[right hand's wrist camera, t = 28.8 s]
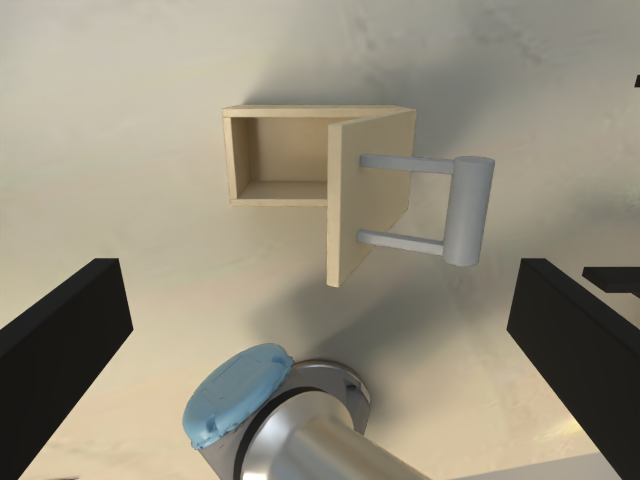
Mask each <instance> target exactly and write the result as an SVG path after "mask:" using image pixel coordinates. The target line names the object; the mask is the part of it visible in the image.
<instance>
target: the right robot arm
mask: <svg viewBox="0 0 640 480" xmlns="http://www.w3.org/2000/svg"><path fill="white" fill-rule="evenodd" d="M132 331H133V325H132V320H131V315H130V311H129V306H128V301H127V296H126V292H125V287H124V282H123V277H122V273H121V268H120V263H119V258H95V259H93V260H92V261H91V262H89V263H88V264H87V265H86V266H84V267H83V268H82V269H80V270H79V271H78V272H76V273H75V274H74V275H72V276H71V277H70V278H68V279H67V280H66V281H64V282H63V283H62V284H60V285H59V286H58V287H56V288H55V289H54V290H52V291H51V292H50V293H48V294H47V295H46V296H44V297H43V298H42V299H40V300H39V301H38V302H36V303H35V304H34V305H33V306H31V307H30V308H29V309H27V310H26V311H25V312H23V313H22V314H21V315H19V316H18V317H17V318H15V319H14V320H13V321H11V322H10V323H9V324H7V325H6V326H5V327H3V328H2V329H1V330H0V480H18V479H19V477H20V476H21V475H22V474H23V472H24V471H25V470H26V468H27V467H28V466H29V465H30V463H31V462H32V461H33V459H34V458H35V457H36V455H37V454H38V453H39V452H40V450H41V449H42V448H43V446H44V445H45V444H46V443H47V441H48V440H49V439H50V437H51V436H52V435H53V433H54V432H55V431H56V430H57V428H58V427H59V426H60V424H61V423H62V422H63V421H64V419H65V418H66V417H67V415H68V414H69V413H70V411H71V410H72V409H73V408H74V406H75V405H76V404H77V402H78V401H79V400H80V399H81V397H82V396H83V395H84V393H85V392H86V391H87V389H88V388H89V387H90V386H91V384H92V383H93V382H94V380H95V379H96V378H97V377H98V375H99V374H100V373H101V371H102V370H103V369H104V367H105V366H106V365H107V364H108V362H109V361H110V360H111V358H112V357H113V356H114V355H115V353H116V352H117V351H118V349H119V348H120V347H121V345H122V344H123V343H124V342H125V340H126V339H127V338H128V336H129V335H130V334H131V333H132ZM507 331H508V333H509V334H510V335H511V336H512V338H513V339H514V340H515V342H516V343H517V344H518V345H519V347H520V348H521V349H522V351H523V352H524V353H525V355H526V356H527V357H528V358H529V360H530V361H531V362H532V364H533V365H534V366H535V367H536V369H537V370H538V371H539V373H540V374H541V375H542V377H543V378H544V379H545V380H546V382H547V383H548V384H549V386H550V387H551V388H552V389H553V391H554V392H555V393H556V395H557V396H558V397H559V399H560V400H561V401H562V402H563V404H564V405H565V406H566V408H567V409H568V410H569V411H570V413H571V414H572V415H573V417H574V418H575V419H576V421H577V422H578V423H579V424H580V426H581V427H582V428H583V430H584V431H585V432H586V433H587V435H588V436H589V437H590V439H591V440H592V441H593V443H594V444H595V445H596V446H597V448H598V449H599V450H600V452H601V453H602V454H603V455H604V457H605V458H606V459H607V461H608V462H609V463H610V464H611V466H612V467H613V468H614V470H615V471H616V472H617V474H618V475H619V476H620V477H621V479H622V480H640V330H639V329H638V328H637V327H635V326H634V325H633V324H631V323H630V322H629V321H627V320H626V319H625V318H623V317H622V316H621V315H619V314H618V313H617V312H615V311H614V310H613V309H611V308H610V307H609V306H607V305H606V304H605V303H604V302H602V301H601V300H600V299H598V298H597V297H596V296H594V295H593V294H592V293H590V292H589V291H588V290H586V289H585V288H584V287H582V286H581V285H580V284H578V283H577V282H576V281H574V280H573V279H572V278H570V277H569V276H568V275H566V274H565V273H564V272H562V271H561V270H560V269H558V268H557V267H556V266H554V265H553V264H552V263H551V262H549V261H548V260H547V259H545V258H521V263H520V268H519V273H518V277H517V282H516V287H515V292H514V296H513V301H512V306H511V311H510V315H509V320H508V325H507Z"/></svg>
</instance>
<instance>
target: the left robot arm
mask: <svg viewBox="0 0 640 480" xmlns="http://www.w3.org/2000/svg"><path fill="white" fill-rule="evenodd" d="M634 87H640V75H637V79H636V83H635V86H634ZM582 276H583V277H584V278H586V279H587V280H589V281H590V282H591V283H593V284H594V285H596V286H597V287H598V288H600V289H601V290H603V291H604V292H605V293H632V294H634V295H635V296H637V297H638V298H640V267H584V270H583V273H582ZM369 408H370V395H369V394H368V391H367V388H366V385H365V383H364V381H363V380H362V379H361V377H360V376H359V375H358V374H357V373H356V372H354V371H353V370H352V369H350V368H349V367H347V366H345V365H343V364H340V363H337V362H334V361H329V360H308V361H303V362H300V363H297V364H295V365H294V360H293V358H292V357H291V356H289V355H288V354H287V352H286V351H285V349H284V348H282V347H281V346H279V345H277V344H271V343H268V344H261V345H257V346H254V347H251V348H249V349H247V350H245V351H242V352H241V353H239V354H237V355H235V356H234V357H232V358H231V359H229V360H227V361H226V362H225V363H223V364H222V365H221V366H219V367H218V368H217V369H216V370H215V371H213V372H212V373H211V374H210V375H209V376H208V377H207V378H206V379H205V380H204V381H203V382H202V383H201V385H200V386H199V387H198V388H197V389H196V391H195V392H194V394H193V396H192V397H191V398H190V400H189V401H188V403H187V406H186V408H185V411H184V414H183V428H184V431H185V433H186V434H187V436H188V437H189V439H190V440H191V446H192V447H193V448H194V449H195V450H198V451H199V452H200V453H201V455H202V456H203V457H204V459H205V460H206V461H207V462H208V464H209V465H210V466H211V468H212V469H213V470H214V472H215V473H216V474H217V475H218V477H219V478H220V479H221V480H432V479H430V478H429V477H427V476H426V475H424V474H423V473H421V472H419V471H418V470H416V469H415V468H413V467H412V466H410V465H408V464H407V463H405V462H404V461H402V460H400V459H399V458H397V457H396V456H394V455H393V454H391V453H389V452H388V451H386V450H385V449H383V448H382V447H380V446H378V445H377V444H375V443H374V442H372V441H371V440H369V439H367V438H366V437H364V432H365V429H366V425H367V421H368V417H369Z"/></svg>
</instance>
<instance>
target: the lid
mask: <svg viewBox="0 0 640 480" xmlns="http://www.w3.org/2000/svg"><path fill="white" fill-rule="evenodd" d="M416 111H417V110H416V109H405V110H400V111H395V112H390V113H385V114H379V115H374V116H369V117H364V118H359V119H354V120H348V121H343V122H338V123H333V124H329V125H328V182H327V285H329V286H333V287H340V286H341V284H342V283H343V282H344V281H345V280H346V279H347V278H348V276H349V275H350V274H351V273H352V272H353V271H354V270H355V268H356V267H357V266H358V265H359V264H360V263H361V262H362V260H363V259H364V258H365V257H366V256H367V255H368V254H369V252H370V251H371V250H372V249H373V248H374V247H375V245H380V246H386V247H392V248H398V249H404V250H410V251H416V252H422V253H428V254H434V255H440V256H442V259H443V260H444V261H445V262H447V263H449V264H452V265H456V266H464V267H468V266H474V265H476V264H477V263H478V261H479V255H480V250H481V244H482V238H483V232H484V226H485V220H486V214H487V208H488V202H489V196H490V190H491V184H492V178H493V172H494V166H495V160H493V159H490V158H485V157H474V156H462V157H456V158H454V160H448V159H434V158H419V157H413V145H414V134H415V123H416ZM411 171H416V172H428V173H440V174H451V175H452V179H451V186H450V194H449V202H448V210H447V218H446V226H445V233H444V241H437V240H430V239H424V238H417V237H410V236H404V235H397V234H391V233H387V232H388V231H389V229H390V228H391V227H392V226H393V225H394V224H395V223H396V221H397V220H398V219H399V218H400V217H401V216H402V215H403V213H404V212H405V211H406V210H407V209H408V202H409V191H410V179H411Z"/></svg>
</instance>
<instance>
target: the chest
mask: <svg viewBox="0 0 640 480" xmlns="http://www.w3.org/2000/svg"><path fill="white" fill-rule="evenodd" d="M405 109H410V108H405V107H401V106H397V105H237V106H232V107H227V108H222V116H223V127H224V138H225V149H226V161H227V172H228V184H229V195H230V206H280V207H327V182H328V125H329V124H333V123H338V122H343V121H348V120H354V119H359V118H364V117H369V116H374V115H379V114H385V113H390V112H395V111H400V110H405Z"/></svg>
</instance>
